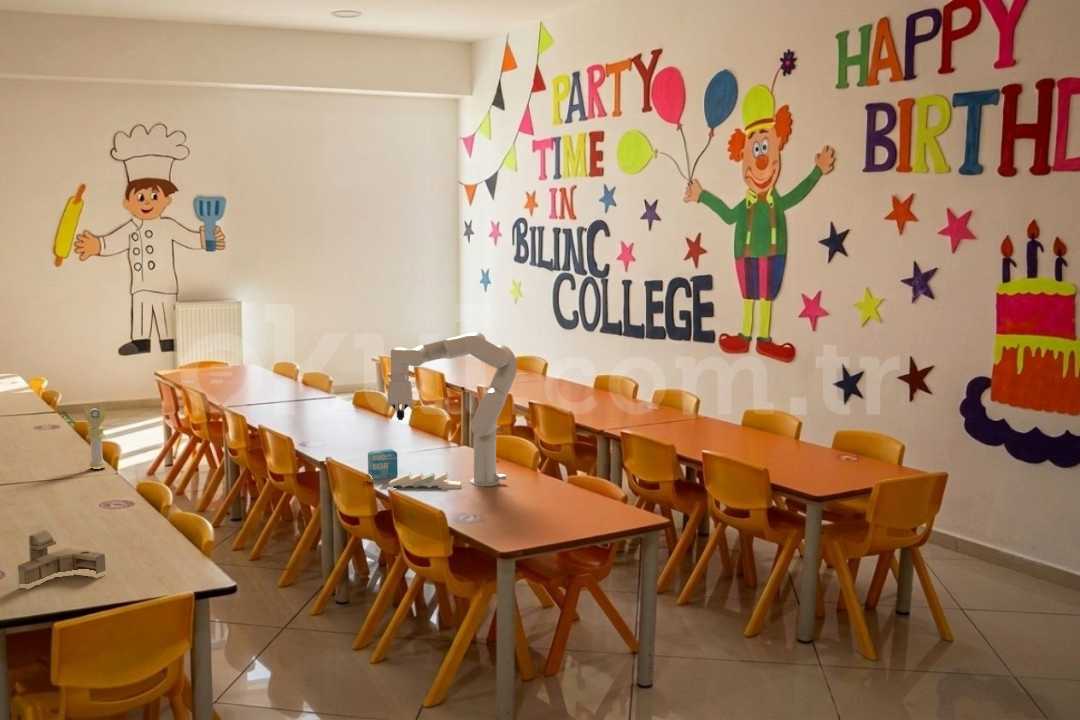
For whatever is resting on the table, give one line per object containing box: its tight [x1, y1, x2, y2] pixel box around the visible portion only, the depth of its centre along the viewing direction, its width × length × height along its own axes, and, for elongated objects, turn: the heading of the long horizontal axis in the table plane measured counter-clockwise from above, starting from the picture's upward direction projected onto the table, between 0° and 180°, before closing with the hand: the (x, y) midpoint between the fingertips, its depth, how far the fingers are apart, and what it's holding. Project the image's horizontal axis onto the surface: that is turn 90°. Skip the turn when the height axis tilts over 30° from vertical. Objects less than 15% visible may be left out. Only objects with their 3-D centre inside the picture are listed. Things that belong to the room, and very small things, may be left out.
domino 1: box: [388, 472, 412, 487], centre depth 424 cm, size 2×5×9 cm
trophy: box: [83, 402, 106, 467], centre depth 453 cm, size 8×8×30 cm
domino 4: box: [426, 471, 449, 488], centre depth 423 cm, size 2×5×9 cm
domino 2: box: [401, 472, 425, 488], centre depth 424 cm, size 2×5×9 cm
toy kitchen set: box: [17, 529, 107, 584], centre depth 310 cm, size 18×17×15 cm
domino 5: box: [438, 480, 462, 489], centre depth 424 cm, size 2×5×9 cm
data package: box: [367, 449, 399, 480], centre depth 439 cm, size 12×4×12 cm, turn 115°
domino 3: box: [413, 472, 437, 488], centre depth 424 cm, size 2×5×9 cm
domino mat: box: [379, 482, 443, 491], centre depth 424 cm, size 26×10×1 cm, turn 89°
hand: (400, 419), depth 430 cm, fingers closed
